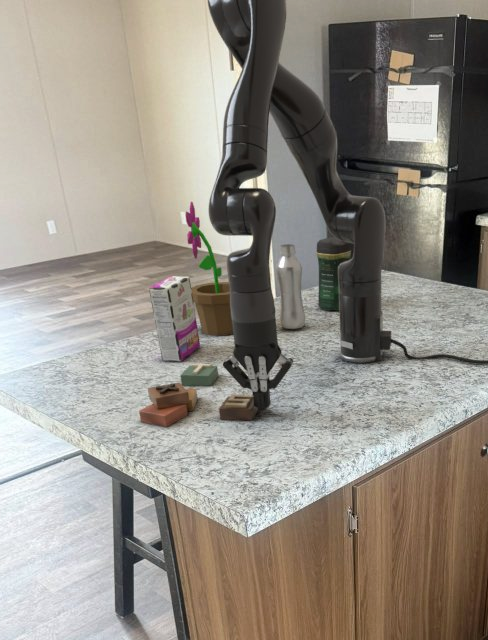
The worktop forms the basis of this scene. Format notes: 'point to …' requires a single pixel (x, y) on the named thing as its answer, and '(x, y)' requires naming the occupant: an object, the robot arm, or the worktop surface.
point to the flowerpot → (209, 286)
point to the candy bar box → (175, 318)
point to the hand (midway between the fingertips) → (263, 408)
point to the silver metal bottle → (290, 288)
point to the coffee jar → (330, 270)
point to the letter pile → (168, 404)
